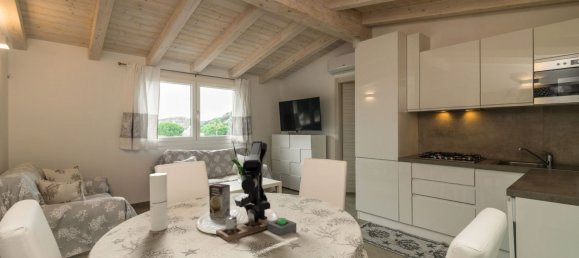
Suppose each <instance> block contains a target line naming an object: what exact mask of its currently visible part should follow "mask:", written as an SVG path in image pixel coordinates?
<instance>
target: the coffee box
mask: <svg viewBox="0 0 579 258" xmlns="http://www.w3.org/2000/svg"><path fill="white" fill-rule="evenodd" d="M208 188H209V189H208V190H209V193H208V194H209V195H208V197H209V216H210V217H216V218H221V219H223V218H226V217H229V216H231V185H230V184H227V183H219V182H217V183H212V184H209V185H208Z"/></svg>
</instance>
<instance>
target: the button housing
mask: <svg viewBox="0 0 579 258" xmlns="http://www.w3.org/2000/svg"><path fill="white" fill-rule="evenodd" d="M285 219H286V224H285V225H282V226H280V225H278V224H277V219H276V220H272V221H269V222H267V223H266V224H267V231H269V232H272V233H273V234H276V235H277V236H279V237H281V236H284V235H286V234H290V233H293V234H295V233H297V222H294V221H293V220H289V219H287V218H285Z"/></svg>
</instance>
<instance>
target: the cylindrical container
mask: <svg viewBox="0 0 579 258" xmlns="http://www.w3.org/2000/svg"><path fill="white" fill-rule="evenodd" d="M167 174H168V173H167V172H158V173H151V174H149V213H150V214H149V215H150V217H149V218H150V219H149V220H150V221H149V223H150V231H151V232H161V231H163V230H166V229H168V226H169V224H168V223H169V221H168V219H169V218H168V175H167Z"/></svg>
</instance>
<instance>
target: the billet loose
mask: <svg viewBox="0 0 579 258" xmlns="http://www.w3.org/2000/svg"><path fill="white" fill-rule="evenodd" d="M251 209H253V208H250V209H248V215H247V217H248V218H247V220H248V226H250V227H255V226H258V222H257V223H255V220H254V212H253V211H252V210H251Z"/></svg>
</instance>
